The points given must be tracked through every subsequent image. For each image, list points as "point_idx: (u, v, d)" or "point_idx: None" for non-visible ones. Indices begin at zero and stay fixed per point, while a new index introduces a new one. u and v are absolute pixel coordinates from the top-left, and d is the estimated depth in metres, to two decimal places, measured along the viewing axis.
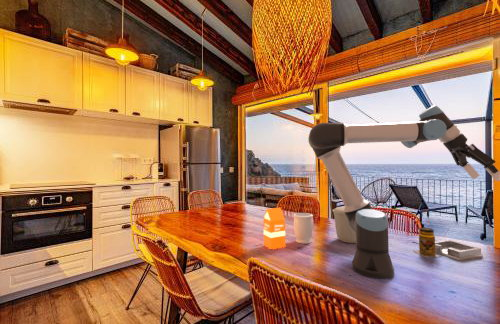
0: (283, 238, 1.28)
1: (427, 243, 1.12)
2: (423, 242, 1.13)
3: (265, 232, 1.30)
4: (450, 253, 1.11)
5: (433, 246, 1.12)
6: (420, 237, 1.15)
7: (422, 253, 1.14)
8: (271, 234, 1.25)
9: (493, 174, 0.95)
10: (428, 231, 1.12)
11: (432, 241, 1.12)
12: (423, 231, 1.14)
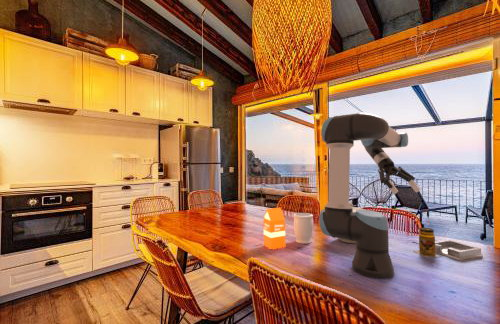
0: (283, 238, 1.28)
1: (427, 243, 1.12)
2: (423, 242, 1.13)
3: (265, 232, 1.30)
4: (450, 253, 1.11)
5: (433, 246, 1.12)
6: (420, 237, 1.15)
7: (422, 253, 1.14)
8: (271, 234, 1.25)
9: None
10: (428, 231, 1.12)
11: (432, 241, 1.12)
12: (423, 231, 1.14)
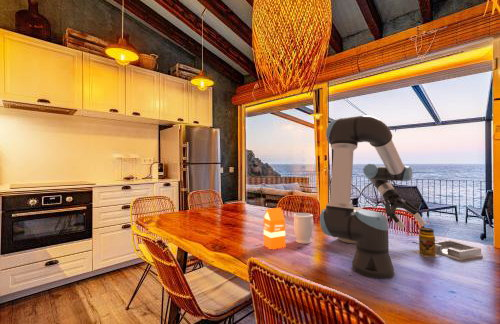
0: (283, 238, 1.28)
1: (427, 243, 1.12)
2: (423, 242, 1.13)
3: (265, 232, 1.30)
4: (450, 253, 1.11)
5: (433, 246, 1.12)
6: (420, 237, 1.15)
7: (422, 253, 1.14)
8: (271, 234, 1.25)
9: None
10: (428, 231, 1.12)
11: (432, 241, 1.12)
12: (423, 231, 1.14)
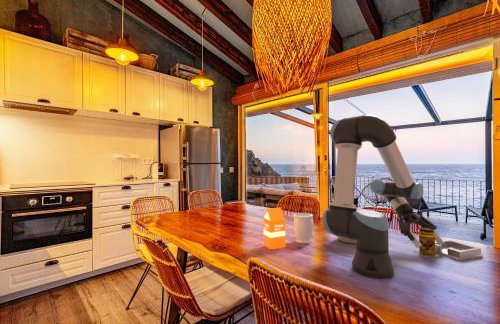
0: (283, 238, 1.28)
1: (427, 243, 1.12)
2: (423, 242, 1.13)
3: (265, 232, 1.30)
4: (450, 253, 1.11)
5: (433, 246, 1.12)
6: (420, 237, 1.15)
7: (422, 253, 1.14)
8: (271, 234, 1.25)
9: None
10: (428, 231, 1.12)
11: (432, 241, 1.12)
12: (423, 231, 1.14)
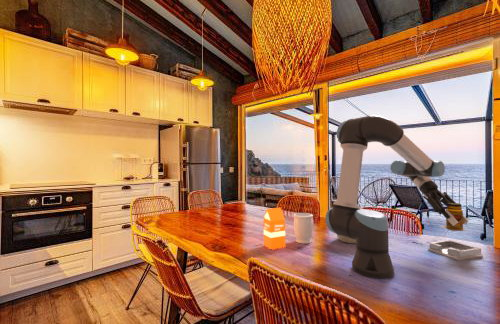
0: (283, 238, 1.28)
1: (455, 217, 1.13)
2: None
3: (265, 232, 1.30)
4: (450, 253, 1.11)
5: (461, 220, 1.13)
6: None
7: (450, 227, 1.15)
8: (271, 234, 1.25)
9: None
10: (456, 205, 1.13)
11: (460, 215, 1.12)
12: (451, 205, 1.14)
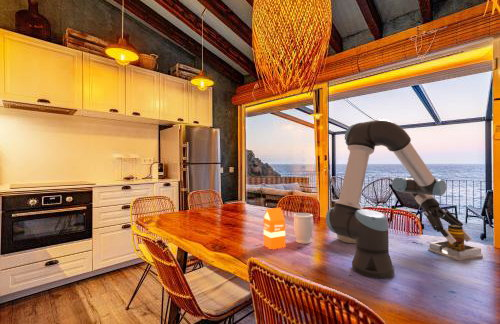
0: (283, 238, 1.28)
1: (456, 239, 1.13)
2: None
3: (265, 232, 1.30)
4: (450, 253, 1.11)
5: (462, 243, 1.12)
6: None
7: None
8: (271, 234, 1.25)
9: None
10: (457, 228, 1.13)
11: (461, 238, 1.12)
12: (452, 228, 1.14)
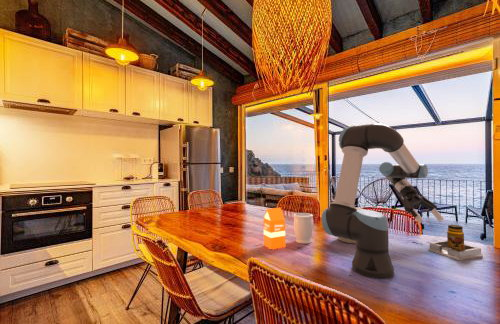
0: (283, 238, 1.28)
1: (456, 239, 1.13)
2: (452, 239, 1.14)
3: (265, 232, 1.30)
4: (450, 253, 1.11)
5: (462, 243, 1.12)
6: (449, 234, 1.15)
7: None
8: (271, 234, 1.25)
9: None
10: (457, 228, 1.13)
11: (461, 238, 1.12)
12: (452, 228, 1.14)
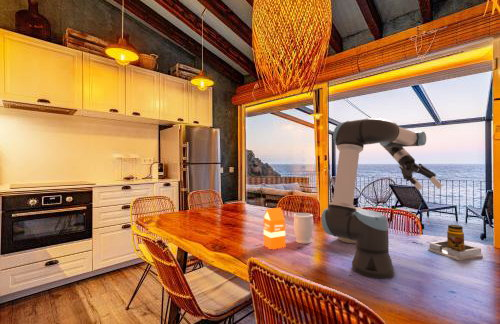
0: (283, 238, 1.28)
1: (456, 239, 1.13)
2: (452, 239, 1.14)
3: (265, 232, 1.30)
4: (450, 253, 1.11)
5: (462, 243, 1.12)
6: (449, 234, 1.15)
7: None
8: (271, 234, 1.25)
9: None
10: (457, 228, 1.13)
11: (461, 238, 1.12)
12: (452, 228, 1.14)
